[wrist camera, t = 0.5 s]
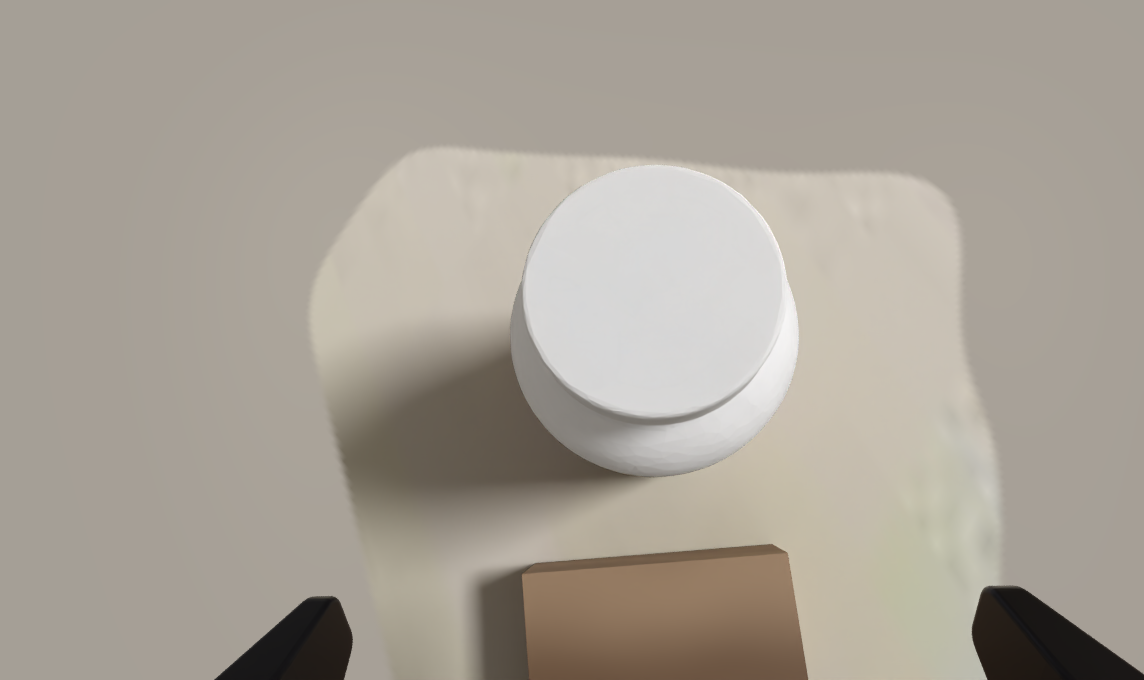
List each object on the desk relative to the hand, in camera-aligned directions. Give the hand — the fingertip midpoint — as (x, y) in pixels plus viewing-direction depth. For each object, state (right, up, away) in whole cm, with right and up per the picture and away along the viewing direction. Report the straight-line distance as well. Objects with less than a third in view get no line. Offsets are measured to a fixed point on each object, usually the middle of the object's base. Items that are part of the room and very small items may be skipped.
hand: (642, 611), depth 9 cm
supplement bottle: (+2, +2, +15) cm, 15 cm away
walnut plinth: (+2, -8, +12) cm, 15 cm away
